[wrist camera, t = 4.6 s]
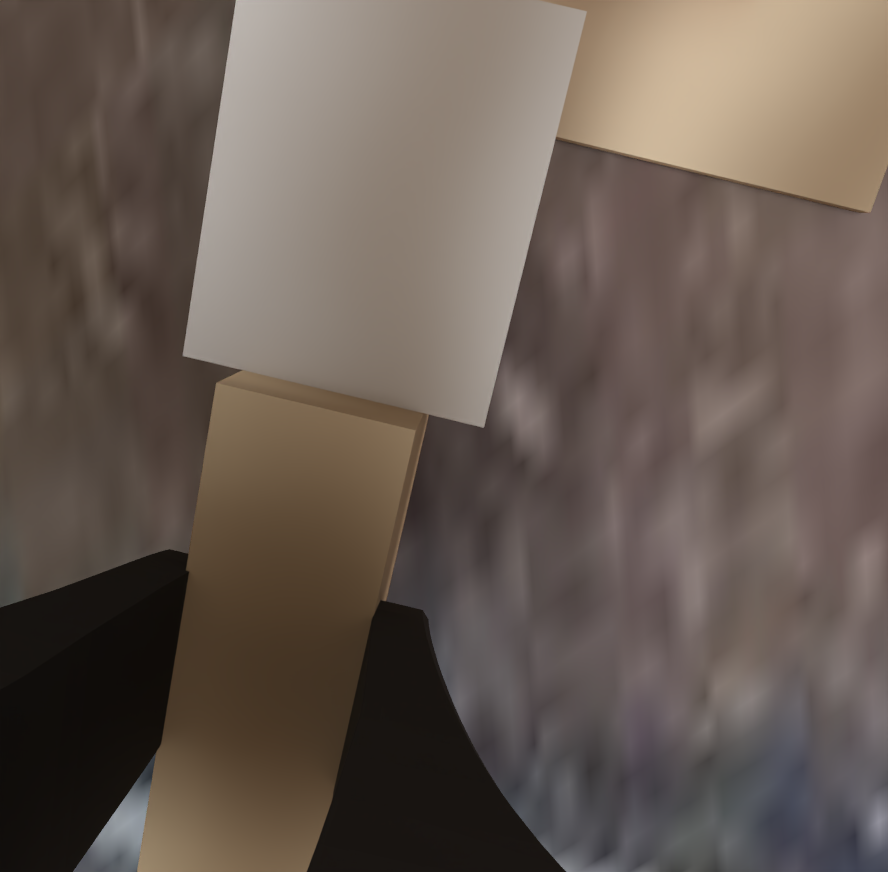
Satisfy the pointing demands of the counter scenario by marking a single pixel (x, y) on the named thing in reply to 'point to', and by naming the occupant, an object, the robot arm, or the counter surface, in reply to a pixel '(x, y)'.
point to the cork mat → (738, 91)
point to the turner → (335, 372)
